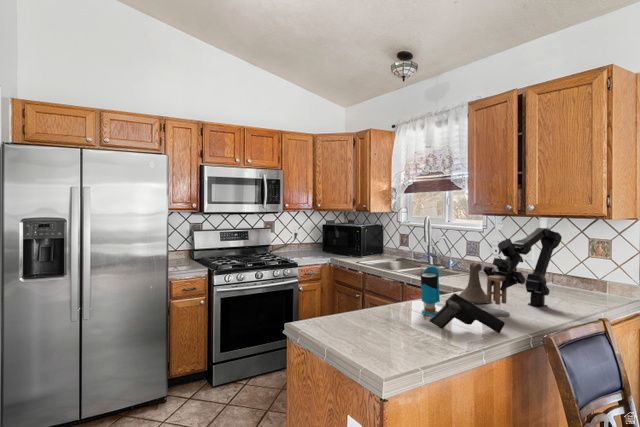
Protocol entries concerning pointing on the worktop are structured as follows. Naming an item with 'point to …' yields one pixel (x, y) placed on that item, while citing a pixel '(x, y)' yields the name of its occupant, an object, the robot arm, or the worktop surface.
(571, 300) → the worktop surface
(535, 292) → the robot arm
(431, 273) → the security camera
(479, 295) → the sculpture
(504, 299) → the stool
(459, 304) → the handgun
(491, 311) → the mat
